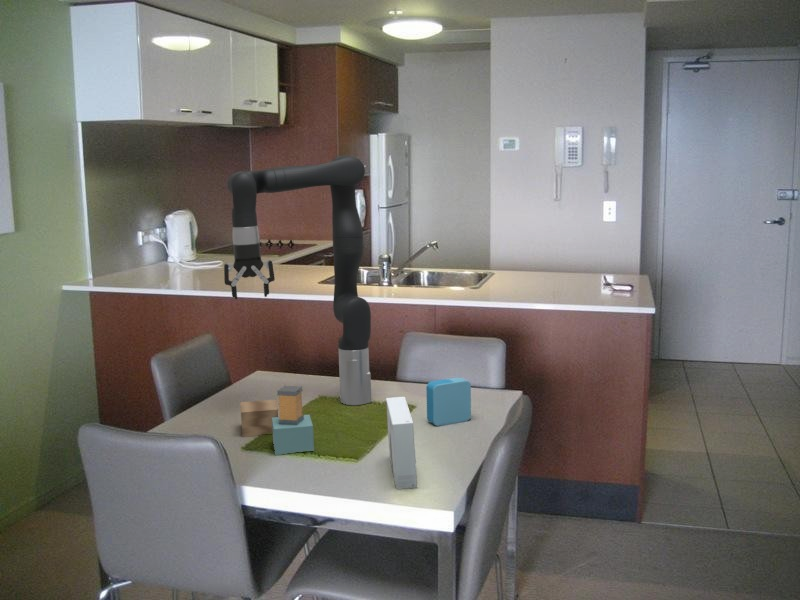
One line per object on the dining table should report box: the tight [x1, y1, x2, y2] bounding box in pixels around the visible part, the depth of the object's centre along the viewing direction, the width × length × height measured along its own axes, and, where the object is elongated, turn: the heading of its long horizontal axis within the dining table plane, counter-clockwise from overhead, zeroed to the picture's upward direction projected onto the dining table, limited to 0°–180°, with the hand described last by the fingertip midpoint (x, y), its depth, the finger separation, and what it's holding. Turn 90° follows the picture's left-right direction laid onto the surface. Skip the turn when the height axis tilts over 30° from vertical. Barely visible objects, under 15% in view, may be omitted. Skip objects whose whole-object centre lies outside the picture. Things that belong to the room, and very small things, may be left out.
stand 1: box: [240, 399, 279, 438], centre depth 239 cm, size 10×10×7 cm
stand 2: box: [272, 414, 315, 456], centre depth 224 cm, size 10×10×7 cm
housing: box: [276, 385, 305, 425], centre depth 223 cm, size 5×5×9 cm
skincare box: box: [385, 396, 418, 490], centre depth 204 cm, size 21×6×16 cm, turn 5°
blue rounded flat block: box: [425, 376, 472, 427], centre depth 242 cm, size 12×4×12 cm, turn 115°
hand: (251, 297), depth 248 cm, fingers open, 8 cm apart
